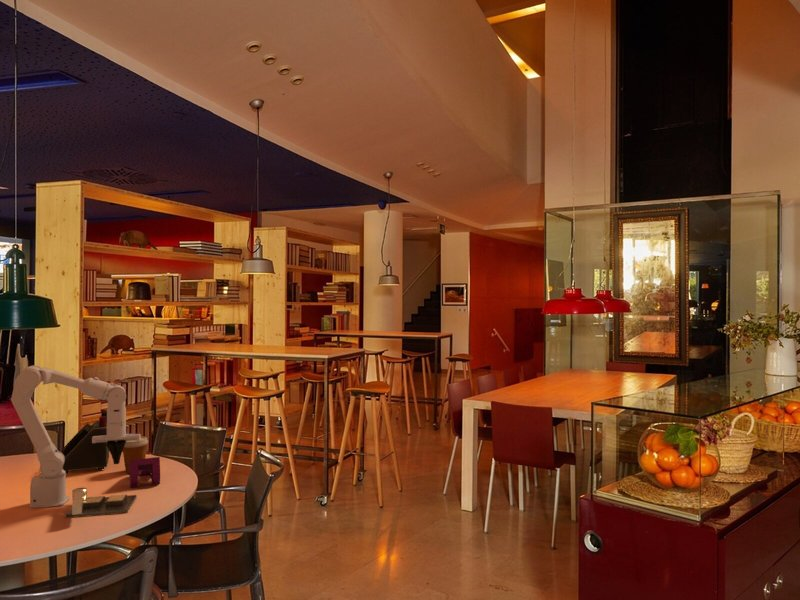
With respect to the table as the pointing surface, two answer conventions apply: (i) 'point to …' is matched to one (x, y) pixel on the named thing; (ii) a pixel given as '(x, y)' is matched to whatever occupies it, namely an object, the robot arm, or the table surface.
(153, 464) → the mounting bracket
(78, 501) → the beige rectangular bar
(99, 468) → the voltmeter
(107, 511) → the tray
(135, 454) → the disposable coffee cup
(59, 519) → the table surface
